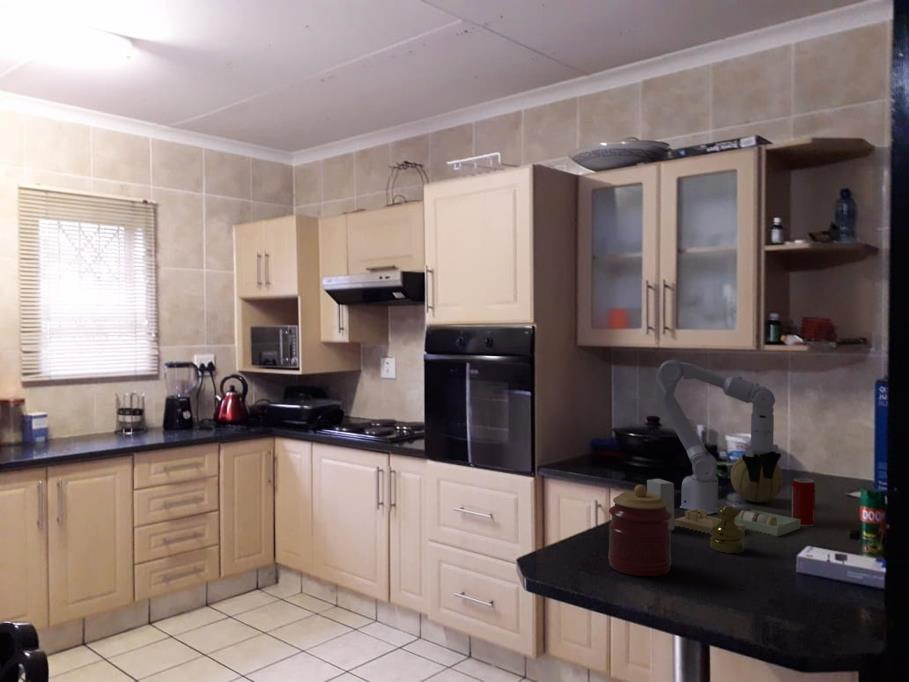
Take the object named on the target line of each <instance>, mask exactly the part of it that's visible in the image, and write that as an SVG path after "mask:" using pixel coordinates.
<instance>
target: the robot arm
mask: <svg viewBox="0 0 909 682" xmlns="http://www.w3.org/2000/svg"><path fill="white" fill-rule="evenodd" d="M655 376H656V377H655V379H656V384H655V393H654V394H655V398H656V400H657V402H658V404H659V406H660V407H661V409H662V410H663V412H664V414H665V416H666V418H667V419H668V421H669V423H670V424H671V427H672V428H673V429H674V432H675V433H676V435H677V436H678V438H679V441H680V442H681V444H682V445H683V448H684V449H685V450H686V453H687V456H688V459H689V461H690V462H691V465H692V466H691V467H692V468H691V469H692V473H693V474H691V475H687V476H686V477H684V479H683V480H682V483H681V501H680V502H681V504H680V506H679V509H684V510H687V511H688V510H692V509H695V508H696V509H698V513H700V510H701V509H702V510H706V511H707V515H712V514H717V512H716V510H717V509H718V508H720V507H719V506H718V505H719V504H718V503H719V477H718V476H717V475H716V473H717V468H718V462H717V459H716V457H715V456H714V455H713V454H711V453H710V452H709V451H708V449H706V447H705V446H704V444H703V443H702V442H701V440H700V438H699V435H697V433H696V431H695V428H693V426H692V424H691V423H690V420H689V419H688V417H687V415H686V414H685V412H684V410H683V409H682V407H681V405H680V404H679V402H678V400H677V399H676V397H675V391H676V388H677V386H678V385H677V384H678V383H679V382H680V380H681V379H683V380H691V379H694V380H698V381H701V382H704V383H706V384H708V385H712V386H714V387H717V388H720V389H722V390H723V393H724V395H726V396H729V397H731V398H733V399H736V400H738V401H740V402H744V403H746V404H750V403H751V404H752V413H751V414H750V415H751V416H750V418H751V419H750V420H751V421H750V445H749V446H748V448H745V450H744V451H745V453H744V454H742V455H741V456H742V459H743V460H744V462H745V464H746V467H747V469H748V473H749V478H750V481H751V482H757V483H758V482H759V480H760V473H761V467H762V468H763V476H764V478H767V479H772V478H773V474H774V470H775V467H776V464H778V462H779V460H780V458H781V457H782V453H780V452H779V451H778V450H779V447H778V446H779V445H778V444H774V430H775V429H774V428H775V427H774V426H775V421H774V420H775V415H774V410H775V409H774V405H775V403H776V399H775V395H774V393H773V392H772V391H771V390H770V389H769V388H768V387H766V386H761V385H760V383H758V382H756V383H754V382H751V381H747V380H745V379H743V376H741V375H737V376H734V375H731V376H729V377H724V376H722V375H719V374H717V373H715V372H712V371H710V370H707V369H705V368H703V367H700V366H698V365H696V364H692V363H689V362H686V361H685V362H683V361H682V362H681V361H679V360H677V359H669V360H666V361H664V362H663V363H661V365H660V366H659V368H658V370H657V373H656V375H655ZM682 377H683V378H682ZM758 455H760V458H759V456H758Z"/></svg>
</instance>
